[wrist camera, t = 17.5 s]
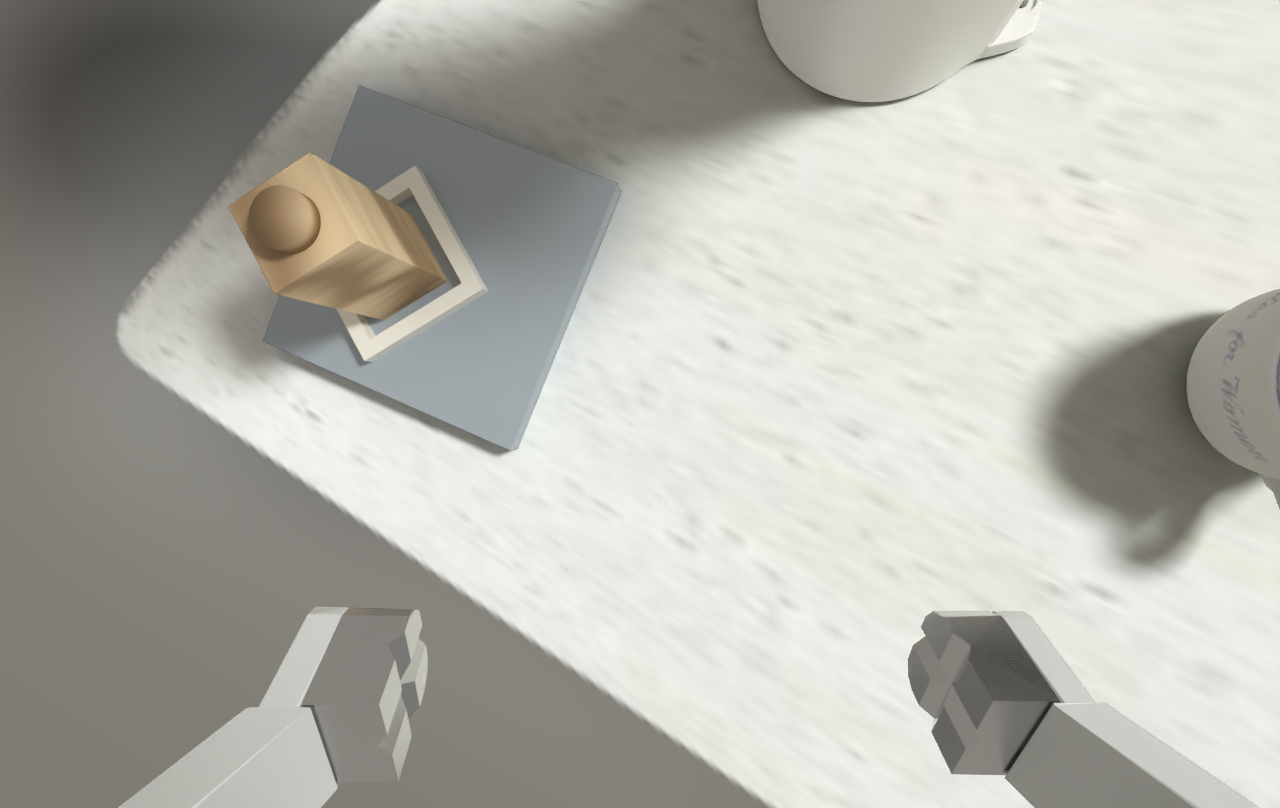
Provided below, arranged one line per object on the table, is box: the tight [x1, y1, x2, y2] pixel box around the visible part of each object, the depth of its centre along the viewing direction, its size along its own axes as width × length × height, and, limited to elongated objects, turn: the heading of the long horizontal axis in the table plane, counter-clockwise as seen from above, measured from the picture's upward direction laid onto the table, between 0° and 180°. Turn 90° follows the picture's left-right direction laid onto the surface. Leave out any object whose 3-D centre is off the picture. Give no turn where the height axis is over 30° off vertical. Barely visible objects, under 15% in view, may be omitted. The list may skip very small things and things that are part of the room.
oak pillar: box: [228, 152, 448, 320], centre depth 34 cm, size 5×5×11 cm
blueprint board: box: [263, 85, 622, 450], centre depth 40 cm, size 18×18×2 cm
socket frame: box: [337, 166, 488, 362], centre depth 39 cm, size 9×9×1 cm
